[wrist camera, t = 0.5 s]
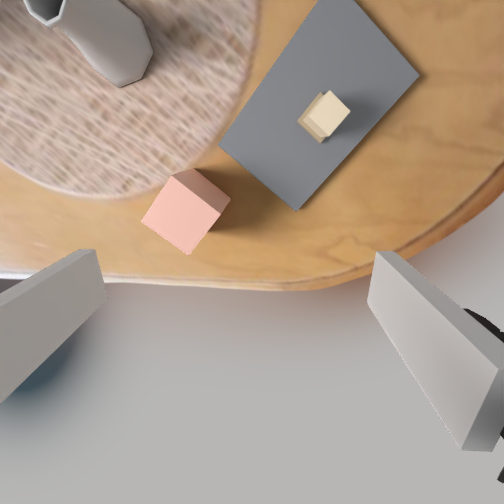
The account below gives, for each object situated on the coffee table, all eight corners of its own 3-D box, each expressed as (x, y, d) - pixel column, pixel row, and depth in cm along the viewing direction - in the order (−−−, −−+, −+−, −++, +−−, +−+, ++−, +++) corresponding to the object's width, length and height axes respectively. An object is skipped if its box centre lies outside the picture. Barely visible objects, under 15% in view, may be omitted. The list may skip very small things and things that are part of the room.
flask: (166, 55, 27) (115, 10, 18) (120, 101, 29) (52, 81, 20) (117, -18, 25) (30, -110, 16) (70, 37, 27) (-31, -18, 18)
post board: (219, 145, 30) (208, 145, 25) (331, -15, 24) (350, -64, 19) (295, 209, 33) (301, 223, 27) (413, 78, 27) (453, 60, 21)
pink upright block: (168, 204, 33) (141, 221, 26) (193, 168, 32) (171, 175, 24) (205, 232, 35) (188, 255, 27) (231, 198, 33) (220, 214, 25)
